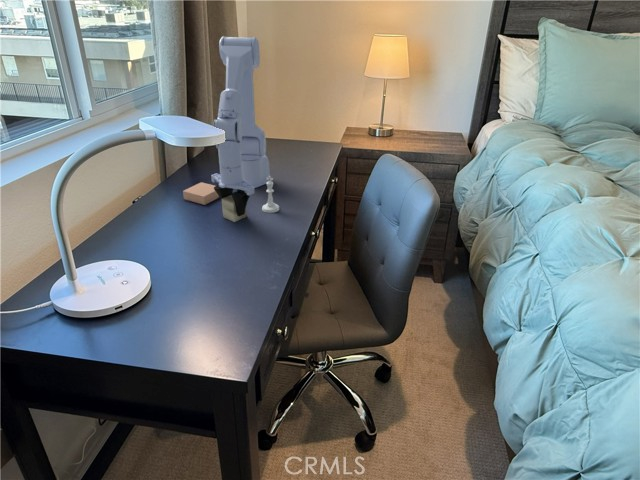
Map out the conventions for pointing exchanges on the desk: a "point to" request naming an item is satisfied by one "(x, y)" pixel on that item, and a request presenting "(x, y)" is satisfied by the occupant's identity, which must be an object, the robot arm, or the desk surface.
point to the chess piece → (270, 199)
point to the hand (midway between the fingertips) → (234, 212)
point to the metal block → (230, 209)
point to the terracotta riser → (200, 193)
